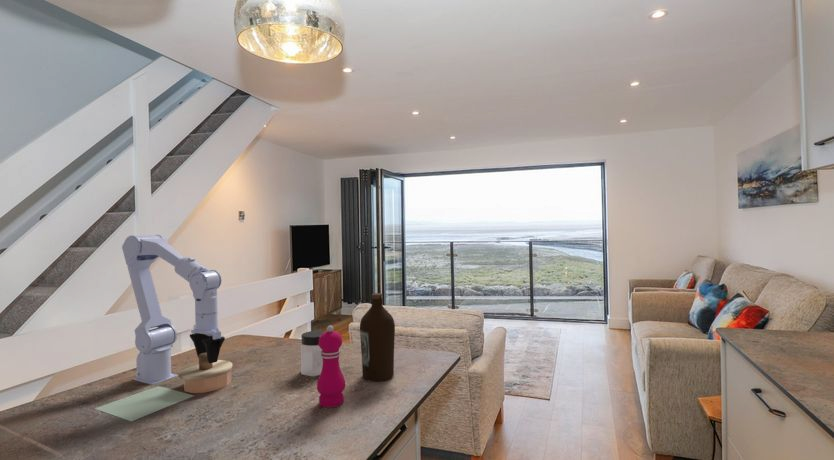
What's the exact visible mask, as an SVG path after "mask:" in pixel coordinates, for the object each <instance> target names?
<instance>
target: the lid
mask: <svg viewBox="0 0 834 460" xmlns="http://www.w3.org/2000/svg"><path fill="white" fill-rule="evenodd" d="M232 369H233V362H231V361H229V360H223V359H218V360H217V362H214V363H209V362H208V359H207V353H202V354H199V358H198V362H196V363H192V364H189V365H186V366H184V367H182V368H180V369H179V370H178V371H177V375H178V376H177V377H178V378H179V379H182V380H184V379H185V380H200V379H207V378H212V377H216V376H219V375H222V374H225V373H227V372H229V371H230V370H231V371H232Z"/></svg>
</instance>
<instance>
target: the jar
mask: <svg viewBox="0 0 834 460" xmlns="http://www.w3.org/2000/svg"><path fill="white" fill-rule="evenodd" d="M325 332H326V330H311V331H306V332H303V333H302V334H301V344H300V367H301V368H300V369H301V370H300V373H301V375H303V376H306V377H312V378H314V377H317V376H320V374H321V371H322V367H323V358H322V357H321V351H322V349H321V348H320V347H319V338H320V336H321V335H322V334H323V333H325Z"/></svg>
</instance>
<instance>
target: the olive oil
mask: <svg viewBox="0 0 834 460" xmlns="http://www.w3.org/2000/svg"><path fill="white" fill-rule="evenodd" d="M383 299H384V298H383V293H380V292H377V293H371V299H370V301H371V302H370V303H371V307H369V309H368V310H367V311H366V312H365V313H364V314H363V316H362V318H361V319H360V323H359V335H360V336H359V338H360V349H361V350H360V351H361V352H360V353H361V365H362V378H363V379H364V380H366V381H369V382H384V381H385V382H386V381H388V380H391V379H392V378H393V377H394V375H395V372H394V371H395V370H394V367H395V360H394V359H395V333H396V332H395V331H396V324H395V321H394V317H393V316H392V315H391V314H390V312H389V311H388V310H387V309H386V308H385V307H384V306H383V305H384V304H383V303H384V302H383Z"/></svg>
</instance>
